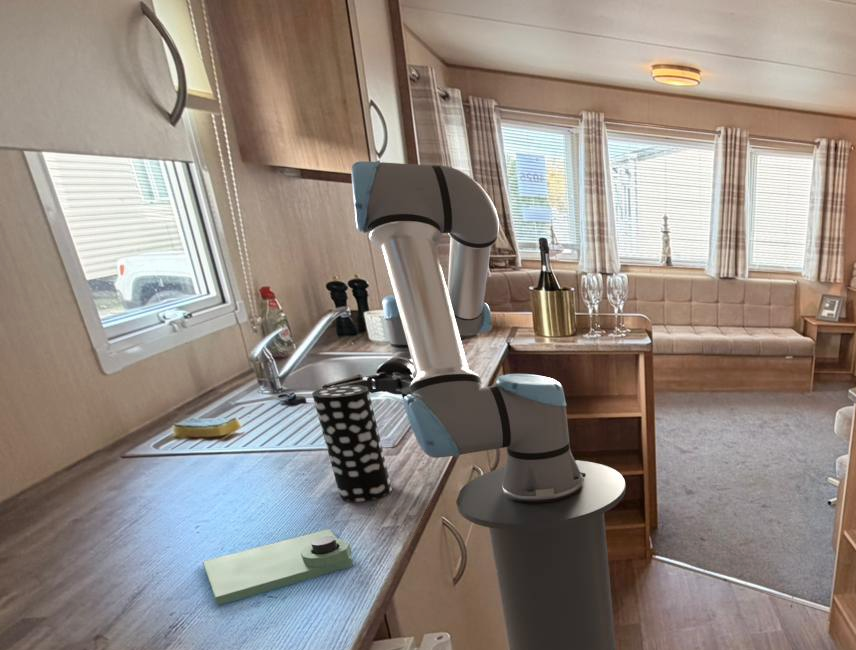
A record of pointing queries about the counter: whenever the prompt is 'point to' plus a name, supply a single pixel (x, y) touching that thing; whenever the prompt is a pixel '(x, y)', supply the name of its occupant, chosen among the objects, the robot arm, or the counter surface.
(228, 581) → the scale
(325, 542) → the button
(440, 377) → the robot arm
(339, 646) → the counter surface
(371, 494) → the white-spotted black cylinder
